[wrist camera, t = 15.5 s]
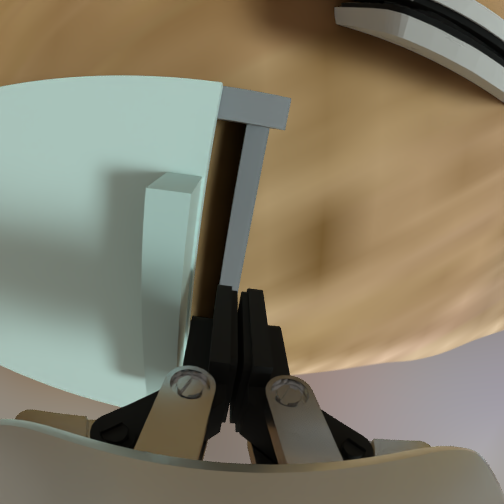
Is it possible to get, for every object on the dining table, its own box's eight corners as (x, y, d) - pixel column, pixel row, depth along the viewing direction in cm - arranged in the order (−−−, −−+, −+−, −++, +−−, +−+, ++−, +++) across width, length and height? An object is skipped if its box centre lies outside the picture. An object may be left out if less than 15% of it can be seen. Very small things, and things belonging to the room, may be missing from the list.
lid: (-59, 103, 7) (-99, 111, 4) (223, 85, 9) (216, 68, 6) (-23, 344, 14) (-44, 372, 11) (184, 408, 16) (178, 455, 13)
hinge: (511, 57, 13) (595, 101, 6) (498, 100, 16) (576, 157, 9) (337, -35, 12) (402, -68, 4) (325, 22, 15) (383, 27, 8)
